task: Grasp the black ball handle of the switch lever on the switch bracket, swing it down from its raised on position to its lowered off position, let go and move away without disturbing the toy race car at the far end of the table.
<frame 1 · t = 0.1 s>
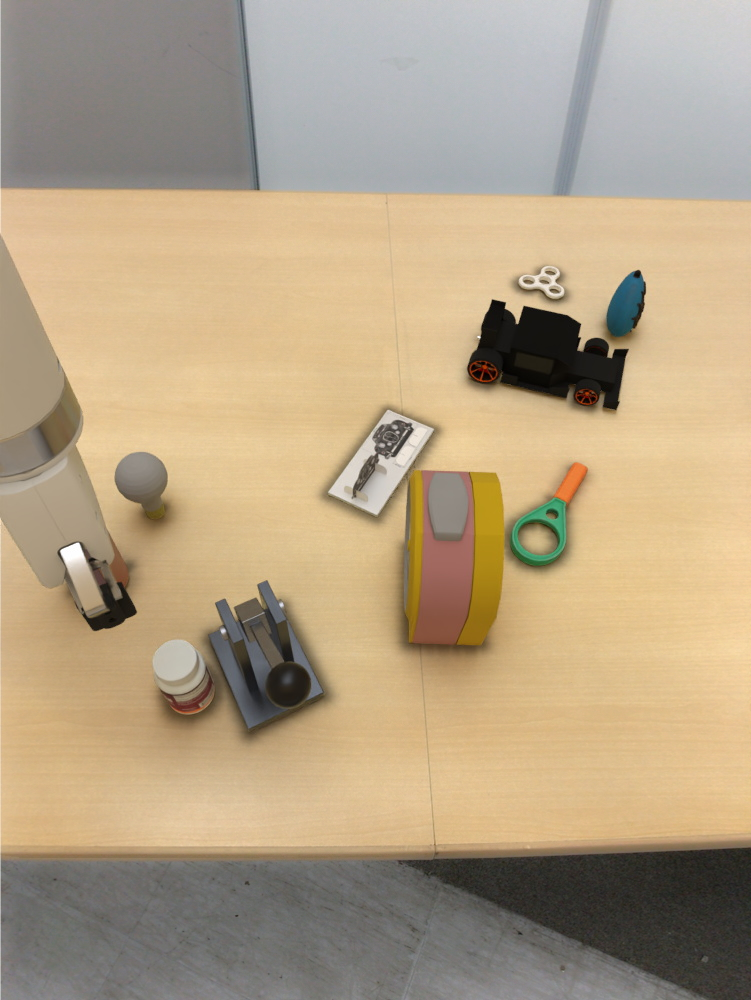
hand: (96, 567, 55), 23 cm above the table, tool pointing down, fingers open, 9 cm apart
toy race car: (544, 370, 100), on the table
pill bottle: (191, 693, 74), on the table
alarm clock: (440, 596, 81), on the table
beverage can: (102, 583, 81), on the table
magnifying glass: (552, 516, 87), on the table
light bulb: (157, 515, 86), on the table
ornament: (617, 330, 105), on the table
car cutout: (382, 462, 91), on the table
switch lever: (270, 651, 62), point 13 cm above the table, hinge at 28.0°
fidget spinner: (546, 287, 110), on the table
switch bracket: (265, 667, 75), on the table
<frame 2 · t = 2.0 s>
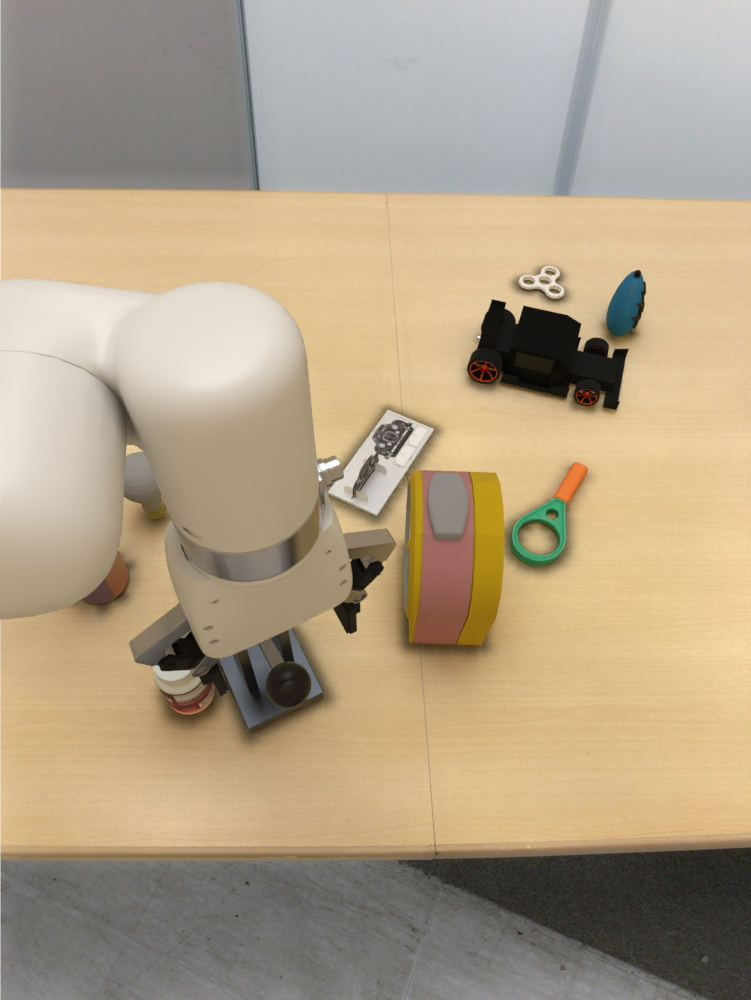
hand: (281, 645, 52), 23 cm above the table, tool pointing down, fingers open, 9 cm apart
nothing on the table moved.
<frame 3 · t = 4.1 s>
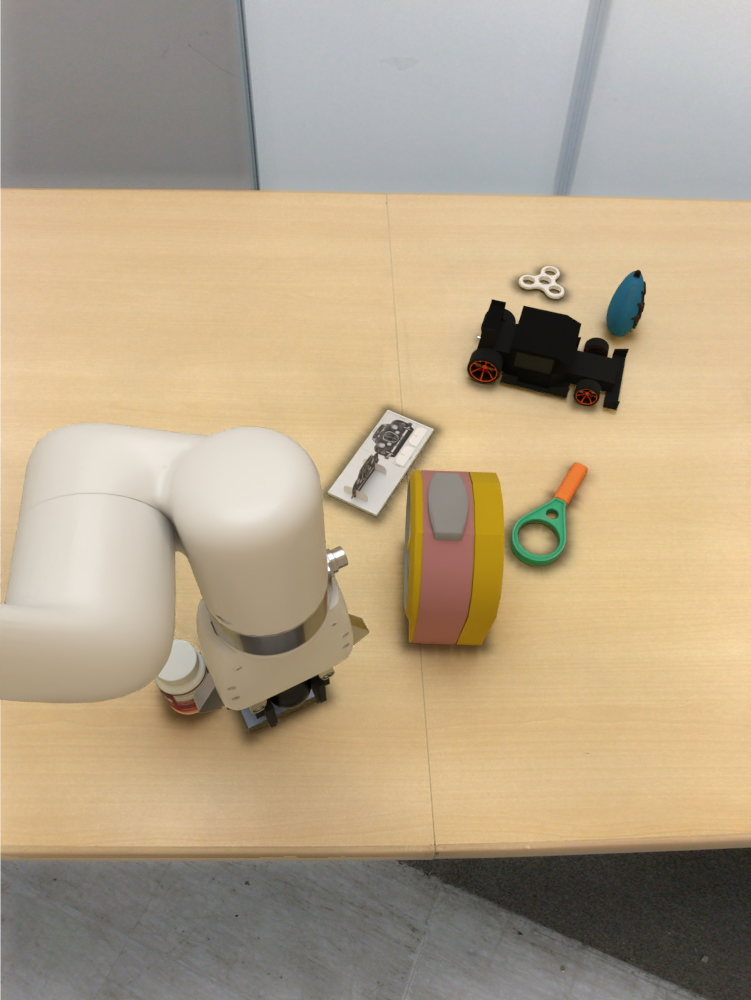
hand: (291, 697, 60), 13 cm above the table, tool pointing down, fingers closed on switch lever, 3 cm apart
switch lever: (270, 651, 62), point 13 cm above the table, hinge at 28.0°, touching gripper
everything else where it was.
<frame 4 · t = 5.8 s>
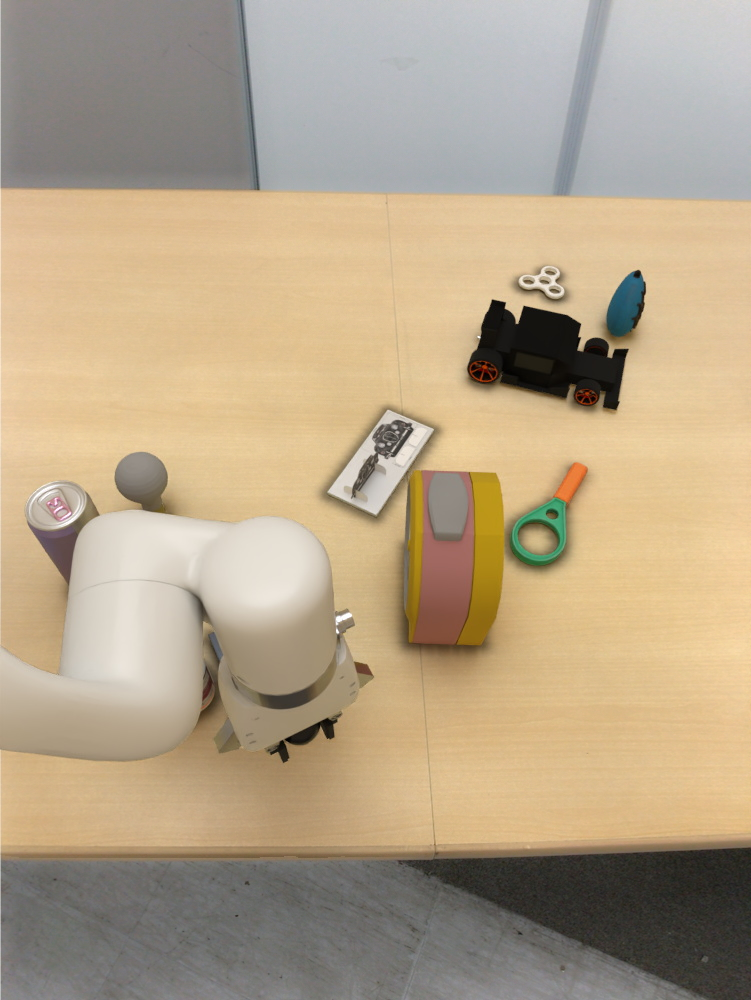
hand: (301, 734, 65), 6 cm above the table, tool pointing down, fingers closed on switch lever, 3 cm apart
switch lever: (276, 672, 65), point 10 cm above the table, hinge at -11.0°, touching gripper
everything else where it was.
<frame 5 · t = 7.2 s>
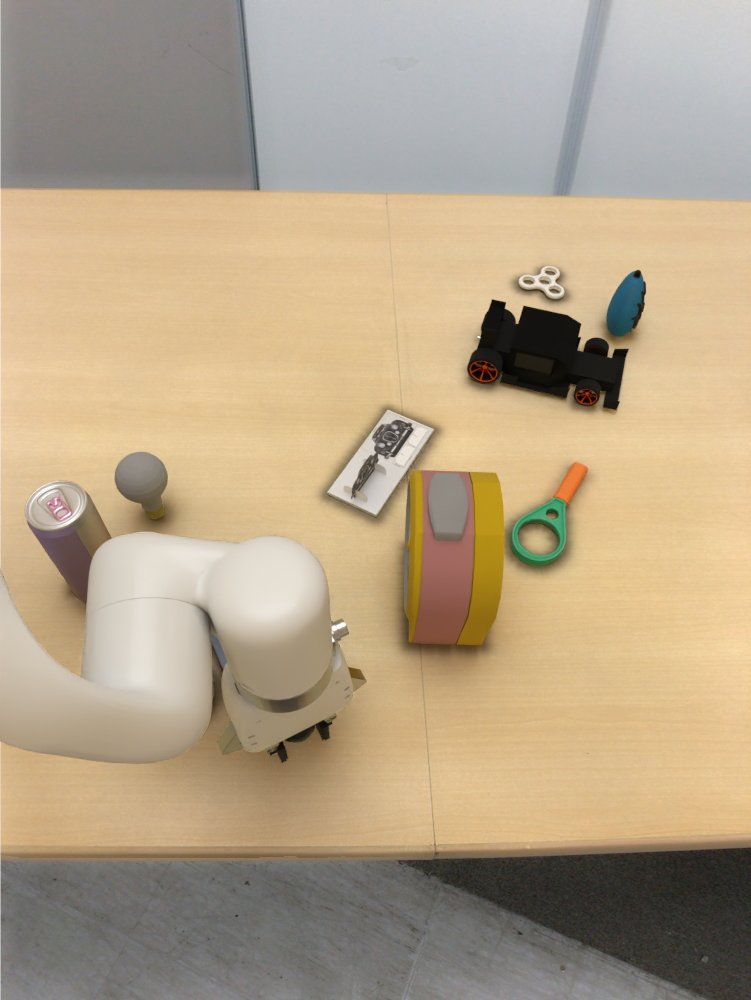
hand: (299, 735, 69), 2 cm above the table, tool pointing down, fingers closed on switch lever, 3 cm apart
switch lever: (275, 673, 66), point 8 cm above the table, hinge at -33.3°, touching gripper
everything else where it was.
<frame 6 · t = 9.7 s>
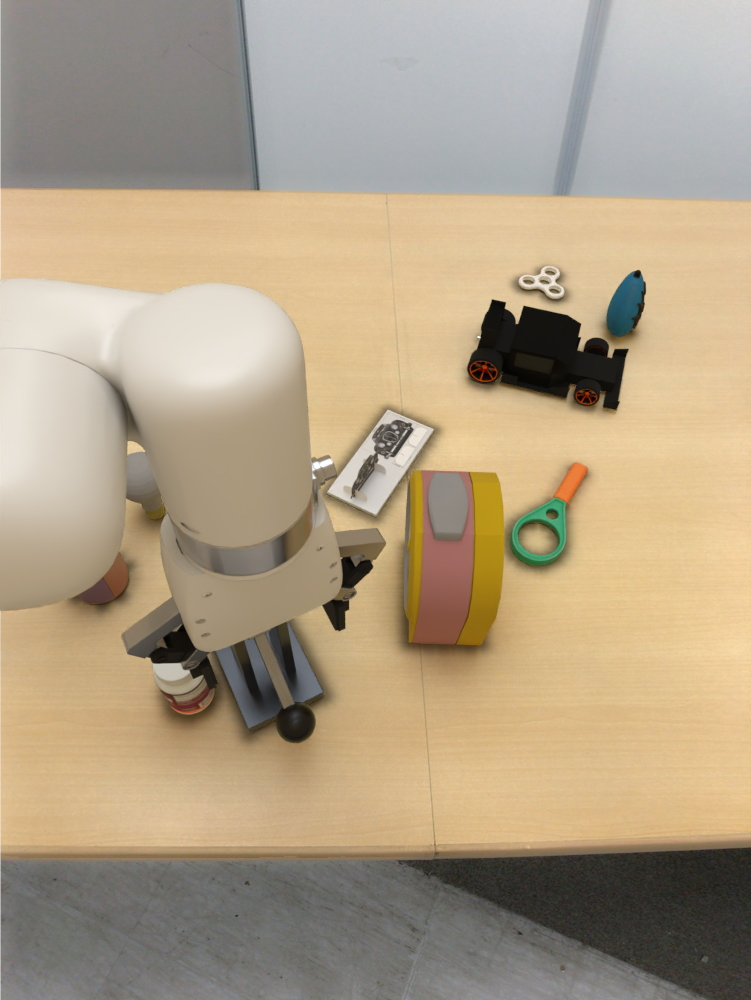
hand: (270, 641, 53), 22 cm above the table, tool pointing down, fingers open, 9 cm apart
switch lever: (275, 673, 66), point 8 cm above the table, hinge at -32.5°
everything else where it was.
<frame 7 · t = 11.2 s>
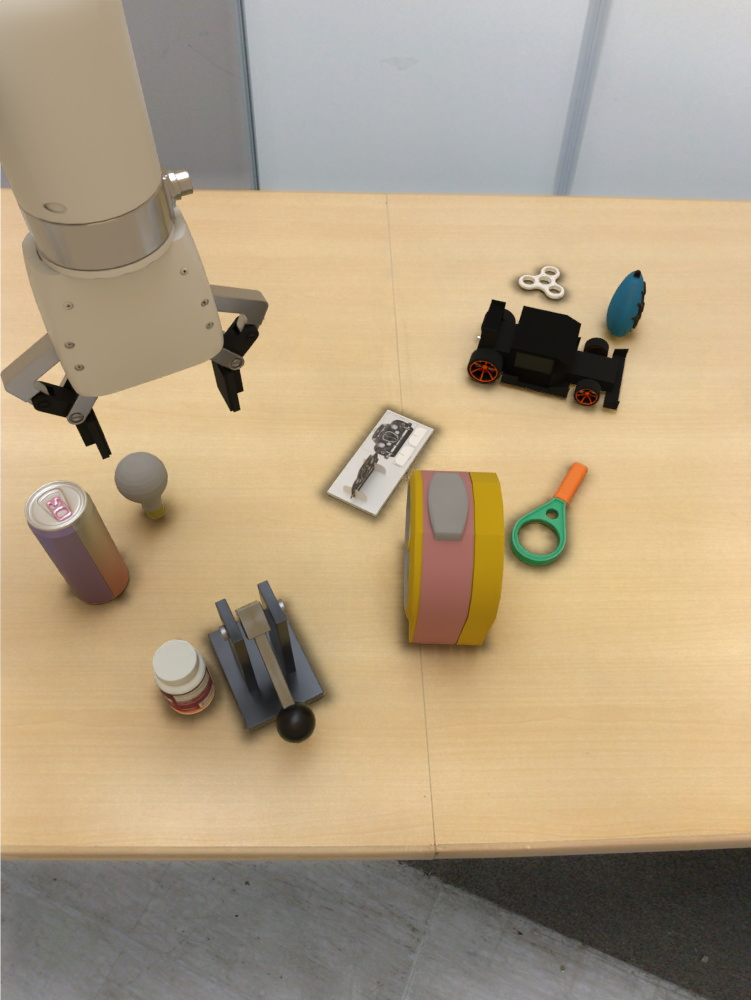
hand: (167, 421, 54), 30 cm above the table, tool pointing down, fingers open, 9 cm apart
nothing on the table moved.
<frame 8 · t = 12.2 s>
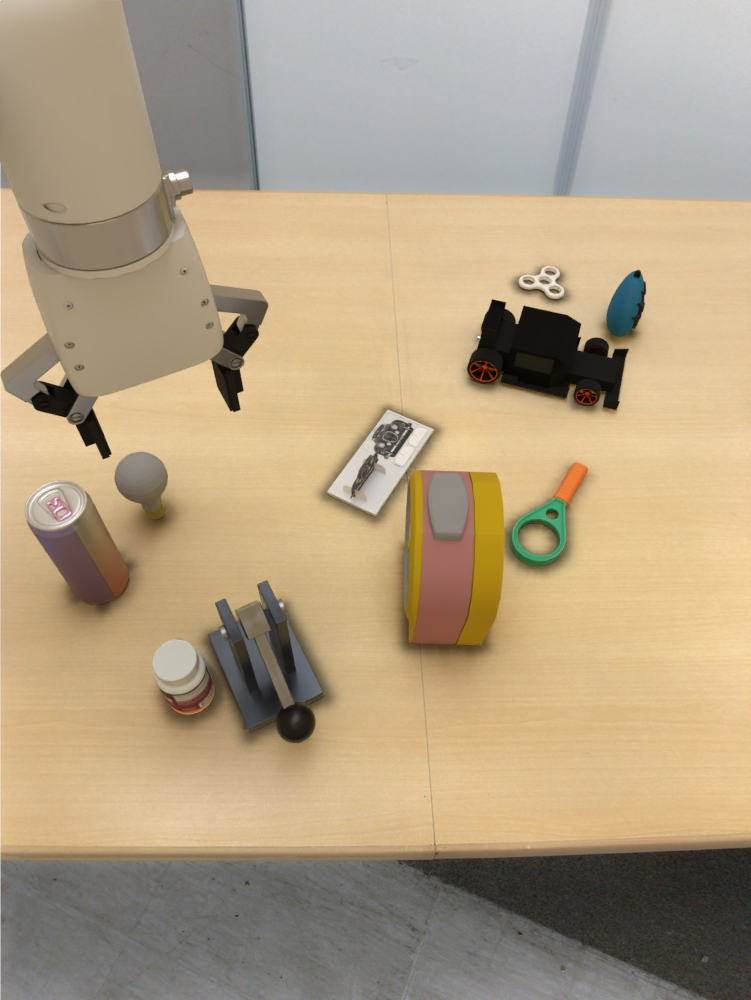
hand: (167, 421, 54), 30 cm above the table, tool pointing down, fingers open, 9 cm apart
nothing on the table moved.
at the end: switch lever at -32° (first picture: +28°); toy race car moved 0.2 cm from its start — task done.
